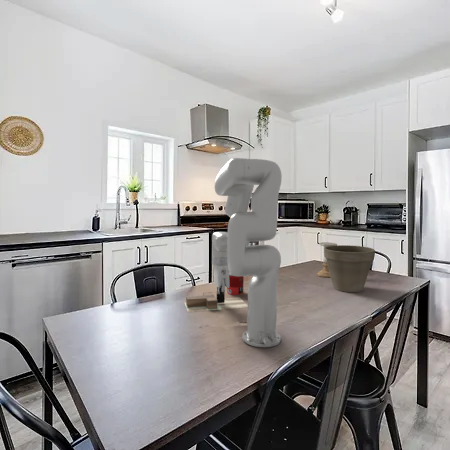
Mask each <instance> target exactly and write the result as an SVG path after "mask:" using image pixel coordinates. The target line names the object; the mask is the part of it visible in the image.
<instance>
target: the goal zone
mask: <svg viewBox="0 0 450 450" xmlns="http://www.w3.org/2000/svg"><path fill="white" fill-rule="evenodd" d="M184 305H185V306H184V307H186V310H187V309H190V308H204V307H206V306H202V307H188V308H187V305H186V304H185V303H184ZM206 309H207V307H206ZM219 310H223V309H221V308H220V306H219V305H218V303H217V309H207V311H219ZM207 311H206V312H207Z"/></svg>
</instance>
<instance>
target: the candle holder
mask: <svg viewBox="0 0 450 450" xmlns="http://www.w3.org/2000/svg"><path fill="white" fill-rule="evenodd" d="M318 244H319V245H320V247H321V246H322V247H323V248H324V247H327V246H335V245H338V243H336V242H328V241H327V242H319V243H318ZM322 262H323V263H322V266H323V269H321V270H319V271H317V272H316V276H318V277H321V278H329V279H331V276H330V272H329V269H328V265H327V260H326V258H325V257H324V256H323V259H322Z"/></svg>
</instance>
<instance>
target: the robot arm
mask: <svg viewBox="0 0 450 450" xmlns="http://www.w3.org/2000/svg"><path fill="white" fill-rule="evenodd" d="M282 176H283V175H282V170H281V168H280V166H279V165H278V163H276V162H275V161H272V160H268V159H260V158H259V159H258V158H244V157H243V158H240V157H234V158H230V159H229V160H228V161H227V162H226V163H225V164H224V166H223V167H222V168H221V169H220V170H219V172H218V174H217V175H216V178H215V181H214V191H215V194H216V195H218V196H220V197H221V196H222V197H227V199H226V203H225V206H224V213H225V214H226V215H227V216H228V217H229V218H230V219H229V220H228V223H227V224H228V225H227V231H215V232H213V233H212V235H211V236H212V237H211V242H212V243H211V264H212V265H213V283H214V285H215V286H216V299H217V303H224V302H225V295H226V289H227V288H229V272H230V273H231V274H232V275H234V276H244V277H248V276H249V277H250V276H252V277H251V278H250V280H249V282H248V285H247V305H248V308H247V319H246V320H247V325H246V327H247V328H246V329H247V330H245V331H244V332H243V333H242V341H243V342H244V343H245V344H247V345H250V346H252V347H254V348H255V347H256V348H273V347H275V346H277V345H279V344H280V343H281V341H282V340H281V339H282V336H281V335H280V334H279V333H278V332H277V313H278V311H277V306H278V303H277V302H278V299H277V298H278V279H279V274H280V267H281V263H282V258H281V253H280V251H279V249H278V248H277V247H275V246H273V245H271V244H252V245H250V242H251V243H252V242H265V241H267V242H268V241H270V240H273V239H274V238H275V237H276V235H277V229H278V205H279V203H278V201H279V193H280V189H281V185H282ZM255 186H257V187H256V188H255V189H254V187H255ZM249 206H250V211H248V210H249Z"/></svg>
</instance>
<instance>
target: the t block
mask: <svg viewBox="0 0 450 450" xmlns="http://www.w3.org/2000/svg"><path fill="white" fill-rule="evenodd" d="M185 298H186V299H185V301H186V305H187V308H188V307H202V306H206V307H207V309H217V297H216V296H215V294H214V293H213V292H202V295H189V296H185Z"/></svg>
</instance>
